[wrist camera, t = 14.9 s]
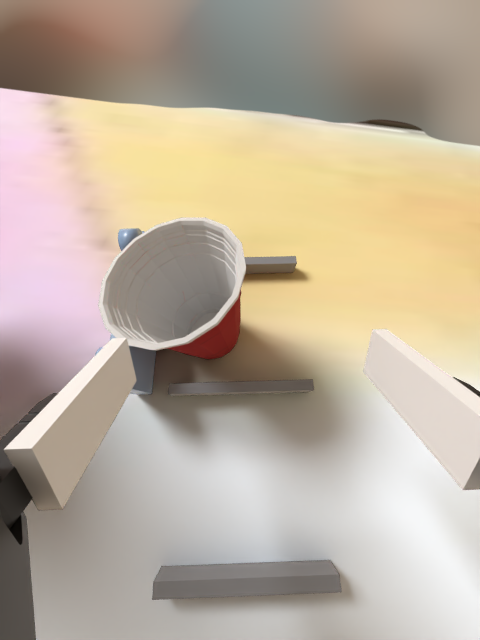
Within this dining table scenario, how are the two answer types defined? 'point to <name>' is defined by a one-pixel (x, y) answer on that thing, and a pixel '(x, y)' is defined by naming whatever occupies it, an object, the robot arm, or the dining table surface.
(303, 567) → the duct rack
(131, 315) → the plastic cup
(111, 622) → the dining table surface
